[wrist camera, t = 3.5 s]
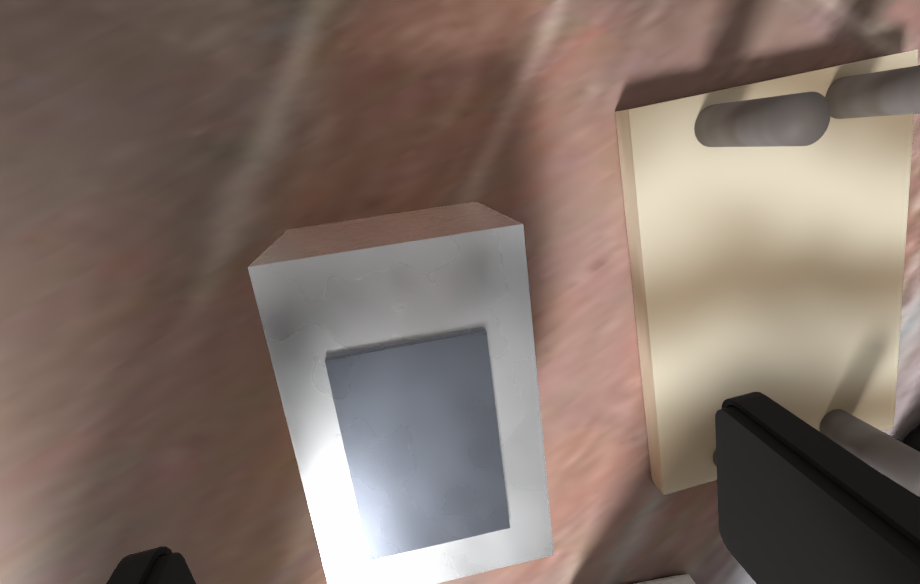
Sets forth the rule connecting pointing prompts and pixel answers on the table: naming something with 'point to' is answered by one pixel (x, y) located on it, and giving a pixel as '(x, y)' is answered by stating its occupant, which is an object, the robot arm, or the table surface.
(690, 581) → the skincare box
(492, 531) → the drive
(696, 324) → the cream peg board
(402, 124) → the table surface
